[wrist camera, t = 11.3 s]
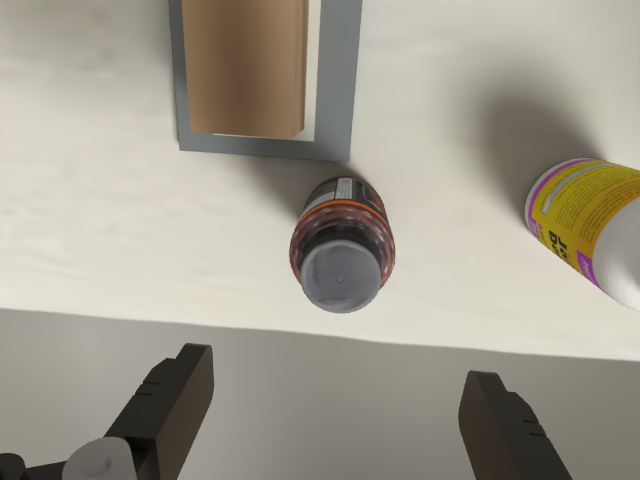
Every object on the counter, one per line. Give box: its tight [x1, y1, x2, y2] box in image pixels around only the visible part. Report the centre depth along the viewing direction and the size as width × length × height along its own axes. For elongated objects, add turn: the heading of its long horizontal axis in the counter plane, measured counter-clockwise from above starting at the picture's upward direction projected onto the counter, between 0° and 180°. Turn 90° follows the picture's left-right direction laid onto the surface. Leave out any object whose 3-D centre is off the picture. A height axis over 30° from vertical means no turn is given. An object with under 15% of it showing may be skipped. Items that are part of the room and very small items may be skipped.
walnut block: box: [182, 0, 309, 139], centre depth 22 cm, size 6×8×6 cm
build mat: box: [169, 0, 362, 162], centre depth 25 cm, size 12×12×1 cm
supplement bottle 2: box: [525, 158, 640, 312], centre depth 22 cm, size 7×7×13 cm
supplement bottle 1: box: [289, 176, 395, 313], centre depth 24 cm, size 6×6×11 cm
